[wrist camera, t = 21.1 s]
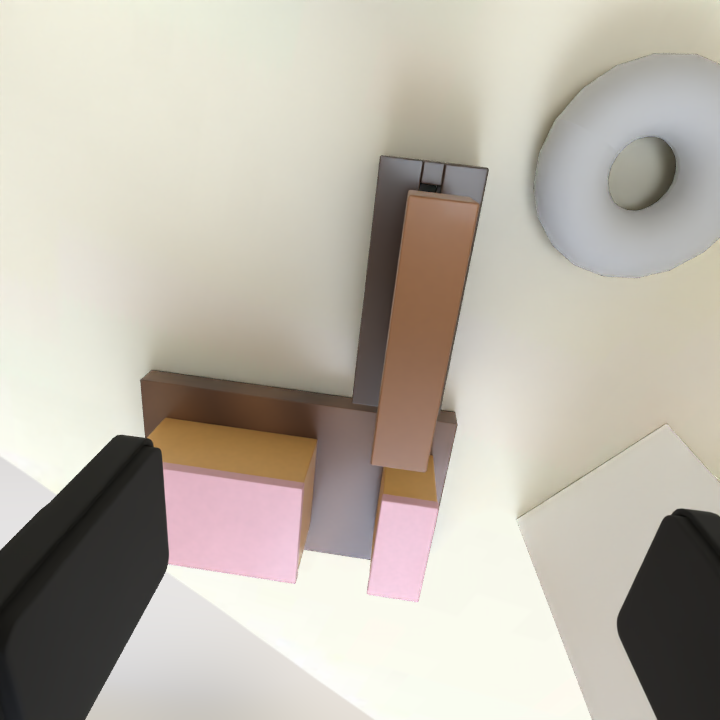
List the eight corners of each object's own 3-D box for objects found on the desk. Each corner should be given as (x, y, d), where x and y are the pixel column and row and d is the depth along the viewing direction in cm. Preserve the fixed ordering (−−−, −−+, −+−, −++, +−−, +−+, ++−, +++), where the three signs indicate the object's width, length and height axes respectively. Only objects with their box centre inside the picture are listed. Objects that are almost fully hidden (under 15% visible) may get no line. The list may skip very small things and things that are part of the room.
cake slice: (372, 533, 33) (366, 594, 29) (385, 447, 30) (381, 500, 26) (416, 539, 33) (418, 602, 28) (434, 454, 30) (439, 508, 26)
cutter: (381, 366, 30) (370, 465, 20) (407, 179, 26) (408, 194, 16) (420, 372, 30) (426, 473, 20) (452, 185, 25) (480, 203, 16)
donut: (678, 286, 27) (777, 82, 22) (714, 305, 23) (837, 71, 19) (501, 248, 27) (567, 38, 22) (513, 262, 24) (593, 21, 19)
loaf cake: (170, 503, 34) (132, 559, 29) (164, 416, 31) (121, 462, 26) (311, 524, 33) (295, 584, 29) (318, 438, 31) (302, 489, 26)
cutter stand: (357, 377, 30) (351, 403, 27) (383, 155, 25) (380, 155, 22) (435, 387, 30) (439, 415, 27) (478, 166, 25) (489, 168, 22)
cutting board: (162, 512, 36) (152, 527, 35) (151, 369, 31) (139, 379, 30) (424, 552, 35) (425, 568, 34) (455, 411, 31) (457, 424, 29)
